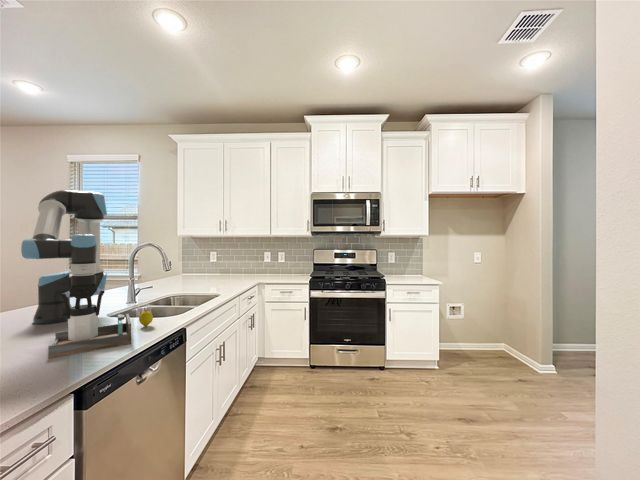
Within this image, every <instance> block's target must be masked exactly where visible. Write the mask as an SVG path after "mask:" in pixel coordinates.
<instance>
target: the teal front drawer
mask: <svg viewBox="0 0 640 480" xmlns="http://www.w3.org/2000/svg"><path fill="white" fill-rule="evenodd" d="M126 345H132V321H131V317H130V314H129V313H125V322H124V323H123V322H122V334H121V335H118V323H114V324H109V325H100V326H99V325H98V335H97V336H95V337H93V338H91V339H89V340H82V341H76V342H74V341H71V340H68V330H65V331H64V330H63V331H56V332H55V338H54V341H53V343H52V345H48V347H47V349H48V350H47V353H48V354H47V355H48V356H47V357H48V359H51V358H57V357H58V358H59V357H64V356H69V355H75V354H81V353H85V352H86V353H87V352H91V351H97V350H98V351H99V350H103V349H104V350H105V349H110V348H115V347H121V346H126Z"/></svg>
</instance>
